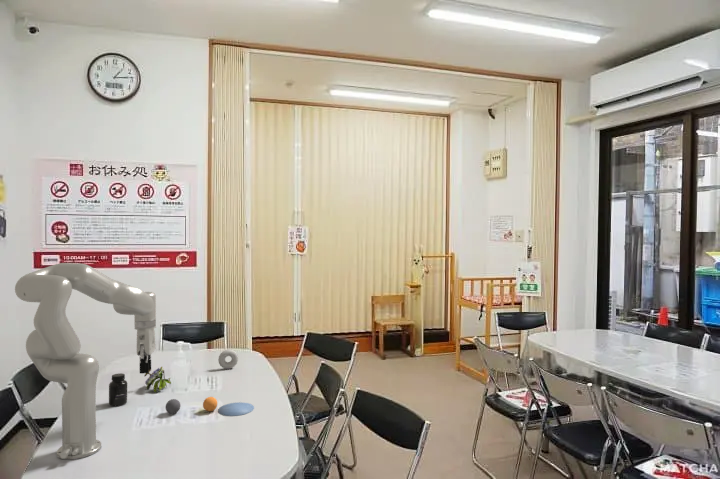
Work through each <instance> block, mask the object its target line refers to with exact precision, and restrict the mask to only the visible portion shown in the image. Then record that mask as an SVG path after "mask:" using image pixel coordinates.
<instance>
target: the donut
mask: <svg viewBox="0 0 720 479" xmlns="http://www.w3.org/2000/svg"><path fill="white" fill-rule="evenodd" d="M227 357H230V358H231V360H230V361H226V358H227ZM238 361H239V356H238V353H237V352H236V351H235V350H233V349H228V348H227V349H225V350H223V351H221V353H220V354H219V356H218V364H219V366H220V367H221V368H223V369H226V370H227V369H228V370H230V369H232V368H234V367H235V366H236V365H237V364H238Z"/></svg>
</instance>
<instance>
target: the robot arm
mask: <svg viewBox="0 0 720 479" xmlns="http://www.w3.org/2000/svg"><path fill="white" fill-rule="evenodd" d="M73 290H75V291H78V292H79V293H82V294H84V295H85V296H88V297H90V298H92V299H93V300H96V301H97V302H99V303H104V304H110V305H112V306H113V307H112V308H113V309H114V312H116V313H118V314H120V315H124V316H125V315H129V316H133V317H134V330H135V331H136V355H137V356H139V374H146V373H148V372H149V370H151V371H152V354H153V353H154V352H155V350H156V336H155V334H156V333H155V329H156V328H157V326H156V324H157V322H156V320H157V316H156V314H157V313H156V311H157V310H156V309H157V303H156V302H157V301H156V300H157V299H156V294H155V293H154V292H153V291H144V290H141V289H139V288H138V287H135V286H132V285H130V284H126V283H124V282H121V281H118V280H114V279H113V278H111V277H109V276H107V275H105V274H104V273H102V272H100V271H99V270H97V269H96V268H94V267H92V266H90V265H88V264H86V263H79V262H60V263H56V264H53V265H52V264H51V265H49V266H46V267H44V268H40V269H38V270H35V271H32V272H28V273H27V274H25V275H23V276H21V277H20V278H19V279H18V280H17V281H16V284H15V285H14V292H15V295H16V297H17V298H18V299H20V300H21V301H24V302H27V303H39V304H38V307H37V309H36V312H35V314H34V318H33V327H34V330H33V331H31V332H30V333H29V335H28V336H27V338H26V341H25V350H26V354H27V355H28V357H29V358H30V361H31V362H32V364H34V366H35V368H36V369H37V370H38V372H39V374H40V375H41V376H42V377H43V378H44V379H45V380H47V381H49V382H54V383H61V384H62V383H63V384H67V386H66V387H65V390H64V392H63V394H62V397H61V429H62V430H61V435H62V438H61V440H62V443H61V446H59V448H58V449H56V456H57V458H58V459H60V460H61V459H62V460H76V459H83V458H86V457H89V456H91V455H93V454H96V453H97V452H98V451H99V450H100V449H101V448H102V441H101V440H98V439H97V418H96V417H97V413H96V412H97V410H96V409H97V408H96V407H97V406H96V404H97V403H96V397H97V396H96V395H97V393H96V389H97V381H98V377H99V376H98V375H99V370H100V369H99V368H100V364H99V361H98V360H97V359H96V357H94V356H92V355H90V354H87V353H79V352H80V351H81V348H82V347H81V346H82V345H81V340H80V339H79V337H78V334H77V333H76V331H75V329H74V328H73V325H72V324H71V323H70V321H69V319H68V317H67V314H66V309H67V306H68V303H69V299H70V298H71V295H72V293H73ZM149 373H150V372H149Z"/></svg>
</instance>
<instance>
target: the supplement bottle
mask: <svg viewBox="0 0 720 479" xmlns="http://www.w3.org/2000/svg"><path fill="white" fill-rule="evenodd" d="M125 378H126V375H125V373H115V374H112V375H111V381H110V382H109V384H108V405H109V406H111V407H120V406H124V405H126V404H127V402H128V381H127V380H126V379H125Z"/></svg>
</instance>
